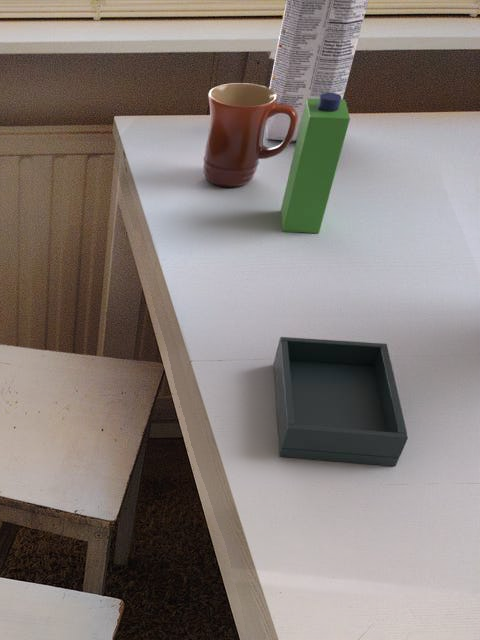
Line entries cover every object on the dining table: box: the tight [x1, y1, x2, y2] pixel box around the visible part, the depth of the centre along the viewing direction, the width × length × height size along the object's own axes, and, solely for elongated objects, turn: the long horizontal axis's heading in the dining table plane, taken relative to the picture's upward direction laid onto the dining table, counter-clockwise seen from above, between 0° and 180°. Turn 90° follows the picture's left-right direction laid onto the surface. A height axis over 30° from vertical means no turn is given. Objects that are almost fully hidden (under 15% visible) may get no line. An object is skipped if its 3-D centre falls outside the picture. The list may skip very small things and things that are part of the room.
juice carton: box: [265, 0, 369, 142], centre depth 114 cm, size 9×10×27 cm
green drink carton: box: [280, 93, 351, 234], centre depth 100 cm, size 6×4×14 cm
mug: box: [202, 82, 298, 188], centre depth 110 cm, size 12×9×10 cm
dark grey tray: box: [272, 336, 409, 467], centre depth 79 cm, size 15×10×3 cm
